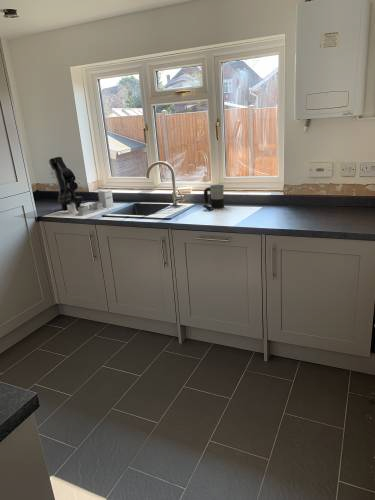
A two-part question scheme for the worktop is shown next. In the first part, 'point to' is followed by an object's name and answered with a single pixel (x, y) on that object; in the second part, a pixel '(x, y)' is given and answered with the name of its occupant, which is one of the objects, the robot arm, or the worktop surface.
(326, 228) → the worktop surface
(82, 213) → the rail
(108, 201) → the supplement box
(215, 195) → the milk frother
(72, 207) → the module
